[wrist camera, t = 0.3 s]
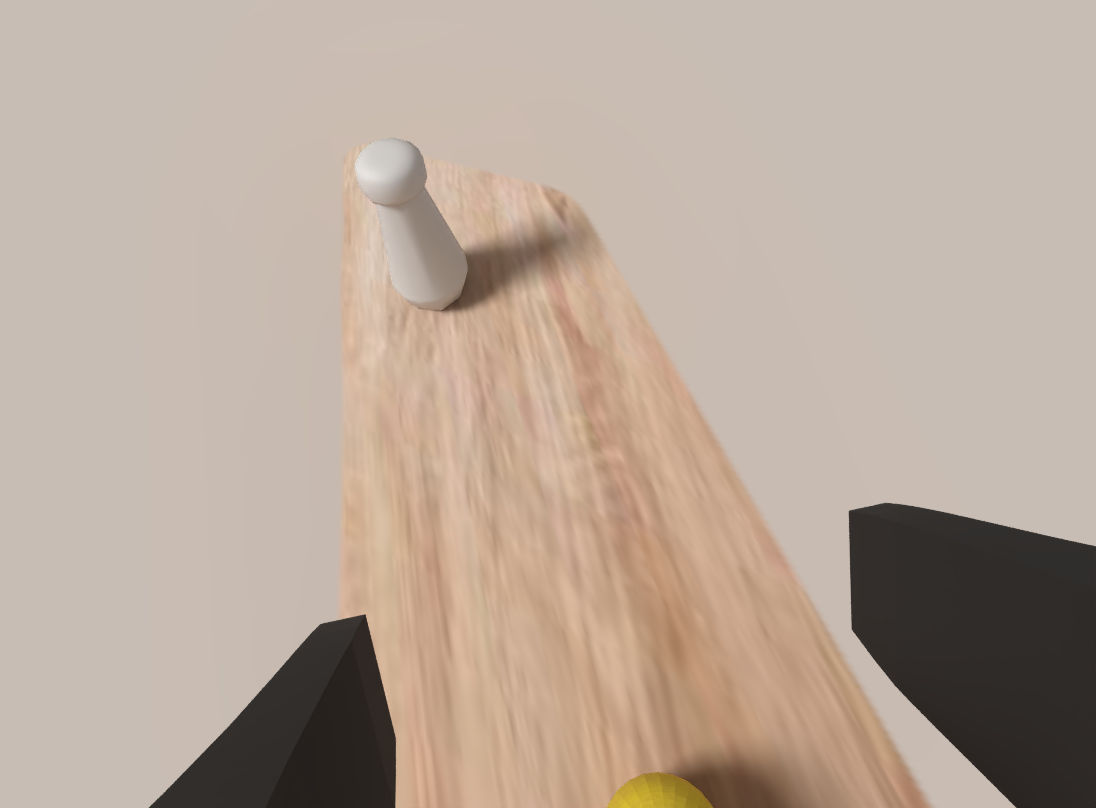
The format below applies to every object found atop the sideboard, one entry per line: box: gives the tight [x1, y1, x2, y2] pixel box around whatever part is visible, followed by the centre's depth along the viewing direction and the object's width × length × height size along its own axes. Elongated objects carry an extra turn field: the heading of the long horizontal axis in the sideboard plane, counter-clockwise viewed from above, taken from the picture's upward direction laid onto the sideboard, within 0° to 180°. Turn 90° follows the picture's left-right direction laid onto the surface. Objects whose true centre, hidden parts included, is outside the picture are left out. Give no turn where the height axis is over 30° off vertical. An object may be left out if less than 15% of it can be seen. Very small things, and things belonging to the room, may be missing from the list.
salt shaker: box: [354, 138, 468, 311], centre depth 45 cm, size 6×6×13 cm
